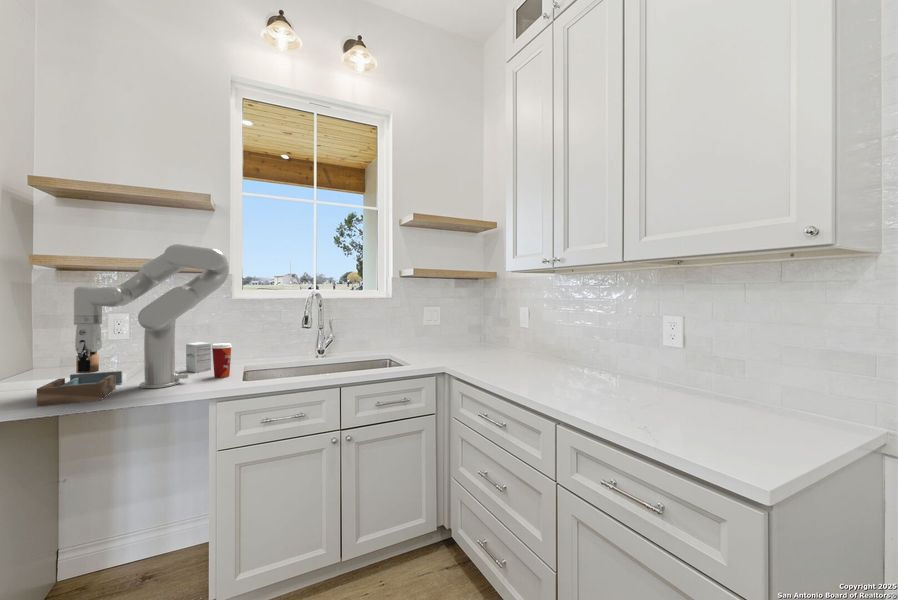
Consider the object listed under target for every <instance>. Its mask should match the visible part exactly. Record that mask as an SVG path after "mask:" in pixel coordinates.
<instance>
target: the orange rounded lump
mask: <svg viewBox="0 0 898 600" xmlns="http://www.w3.org/2000/svg"><path fill="white" fill-rule="evenodd" d="M86 356H87V354H86ZM89 360H90V371H87V372H78V355H76V359H75V361H76V362H75V363H76V364H75V365H76V367H75V369H76V370H75V371H76V372H75V374H83V373H98V372H100V371H99V370H100V354H99V353H97V354H90V356H89Z"/></svg>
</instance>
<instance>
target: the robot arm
mask: <svg viewBox="0 0 898 600" xmlns="http://www.w3.org/2000/svg"><path fill="white" fill-rule="evenodd" d="M186 268H188V269H189V268H190V269H197V270H199V269H200V270H203V271H202V272H201V273H200V274H198V275H196V276H195V277H194V278H192V279H191V280H189V281H188V282H186V283H184V284H183V285H180V286H176V287H173V288H171V289H169V290H168V291H166V292H164V294H162V295H160V296H159V297H157V298H156V299H154V300H152V301H151V302H150V303H148V304H147V305H146V306H144V307H143V308H142V309H141V310H140V311H139V312H138V316H137V320H138V324H139V326H141V327H142V328H143V329H144V337H143V343H144V345H143V350H144V351H143V352H144V353H143V354H144V355H143V356H144V357H143V358H144V362H143V363H144V364H143V365H144V372H143V373H144V381H143V382H140V383H139V388H141V389H161V388H166V387H172V386H175V385H178V384H179V383H180V382H181V381H180V379H189V373H183V372H182V373H178V371H177V370H176V367H175V366H176V362H175V359H176V358H175V357H176V355H175V353H176V351H175V347H176V341H175V339H176V336H175V335H176V334H175V333H176V322H177V321H176V319H179V318H180V317H181V316H182V315H184V314H185V313H186V312H188V311H189V310H192V309H194V308H195V307H196V306H197V305H198V304H199V303H200V302H202V301H203V300H205V299H206V298H207V297H209V296H210V295H211V294H212V293H214V292H216V290H218V289H220V287H221V286H222V285H223V284H224V283H225V282H226V280H227V278H228V277H229V272H230V271H229V270H230V269H229V268H230V267H229V262H228V259H227V256H226V255H225V254H224V253H223V251H221V250H219V249H216V248H211V247H202V246H194V245H186V244H181V243H179V244H178V243H177V244H172V245H169V246H168V247H166V248H165V250H164V252H163V253H162V254H160V255H158V256H157V257H155V258H153V259H152V260H149V261H148V262H147V263H145V264H143V265H142V266H141V267H140V268H139V270H138V272H137V273H135V274H134V275H133V276H132V277H130V278H129V279H128V280H125V281H124V282H122V283H121V284H119V285H116V286H105V287H104V286H102V287H99V286H76V287H75V288H74V291H73V326H76V329H75V340H74V344H75V345H74V347H75V349H74V350H75V353H76V354H77V356H78V372H87V371H90V360H89V356H90V354H98V351H99V350H101V349H102V347H103V346H102V345H103V343H102V342H103V341H102V328H101V327H102V326H101V325H102V324H103V307H108V308H115V307H122V306H127V305H129V304H131V303H132V302H134V301H135V300H137V299H139V298H140V297H142V296H144V295H145V294H146V293H148V292H149V291H151V290H152V289H154V288H155V287H157V286H159V285H160V284H162V283H163V282H165V281H166V280H168V279H169V278H171V277H172V276H174V275H176V274H178V273H179V272H181V271H182V270H185V269H186ZM86 354H87V356H86Z"/></svg>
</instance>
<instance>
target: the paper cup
mask: <svg viewBox="0 0 898 600" xmlns="http://www.w3.org/2000/svg"><path fill="white" fill-rule="evenodd" d="M232 347H233V346H232V342H231V343H229V342H227V343H226V342H222V343H213V344H211V353H212V363H213V374H214V375H213V377H214V378H215V379H224V378H228V377H230V373H231V357H232Z"/></svg>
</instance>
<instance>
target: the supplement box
mask: <svg viewBox="0 0 898 600" xmlns="http://www.w3.org/2000/svg"><path fill="white" fill-rule="evenodd" d="M211 347H212V343H211V342H204V341H197V342H196V341H195V342H190V343H189V342H188V343H186V344H185V371H186V372H192V373H200V372H205V371H211V370H212V348H211Z"/></svg>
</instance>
